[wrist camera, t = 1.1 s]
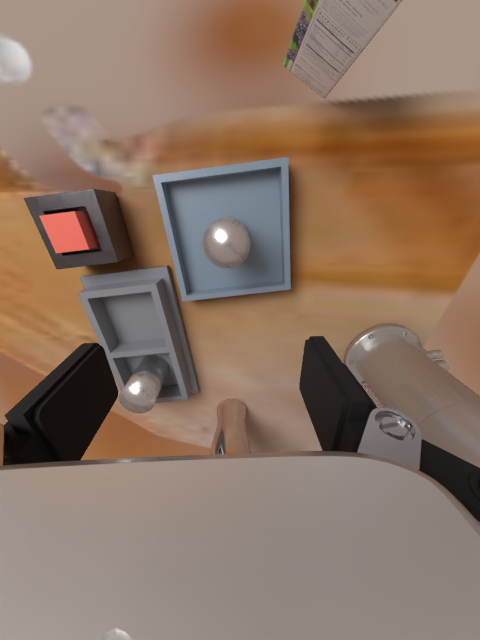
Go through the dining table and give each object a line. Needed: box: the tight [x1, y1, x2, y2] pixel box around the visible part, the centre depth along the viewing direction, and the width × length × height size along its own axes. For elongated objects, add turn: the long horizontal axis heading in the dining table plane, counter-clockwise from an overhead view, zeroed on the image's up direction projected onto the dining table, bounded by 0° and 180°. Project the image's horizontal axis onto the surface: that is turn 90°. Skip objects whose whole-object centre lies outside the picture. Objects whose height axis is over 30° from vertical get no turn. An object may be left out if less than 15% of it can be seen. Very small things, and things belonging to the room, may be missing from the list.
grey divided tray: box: [78, 265, 199, 403], centre depth 37 cm, size 13×24×4 cm, turn 7°
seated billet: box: [119, 355, 169, 413], centre depth 37 cm, size 5×5×8 cm
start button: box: [39, 211, 100, 253], centre depth 27 cm, size 4×4×3 cm
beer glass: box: [209, 399, 251, 455], centre depth 39 cm, size 7×7×15 cm
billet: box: [203, 217, 251, 268], centre depth 27 cm, size 5×5×8 cm
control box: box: [24, 189, 134, 269], centre depth 29 cm, size 8×8×5 cm
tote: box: [152, 157, 291, 301], centre depth 31 cm, size 16×16×3 cm
